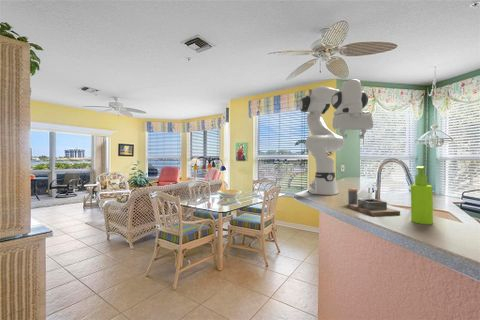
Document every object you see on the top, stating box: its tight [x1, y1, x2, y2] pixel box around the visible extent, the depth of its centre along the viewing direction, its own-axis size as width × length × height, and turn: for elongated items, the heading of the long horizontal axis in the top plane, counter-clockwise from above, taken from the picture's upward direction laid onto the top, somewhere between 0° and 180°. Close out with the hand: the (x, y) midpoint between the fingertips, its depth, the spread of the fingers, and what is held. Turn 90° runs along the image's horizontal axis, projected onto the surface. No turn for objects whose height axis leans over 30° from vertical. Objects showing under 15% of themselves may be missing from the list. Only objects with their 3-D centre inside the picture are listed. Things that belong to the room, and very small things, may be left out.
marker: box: [347, 187, 358, 205], centre depth 106 cm, size 4×4×8 cm
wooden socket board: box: [347, 198, 401, 217], centre depth 93 cm, size 16×12×4 cm
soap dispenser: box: [410, 165, 434, 225], centre depth 76 cm, size 6×7×20 cm
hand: (353, 138), depth 108 cm, fingers open, 8 cm apart
